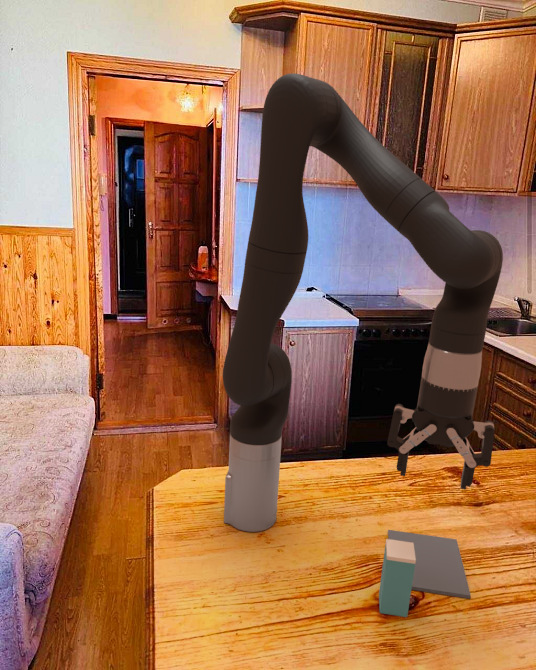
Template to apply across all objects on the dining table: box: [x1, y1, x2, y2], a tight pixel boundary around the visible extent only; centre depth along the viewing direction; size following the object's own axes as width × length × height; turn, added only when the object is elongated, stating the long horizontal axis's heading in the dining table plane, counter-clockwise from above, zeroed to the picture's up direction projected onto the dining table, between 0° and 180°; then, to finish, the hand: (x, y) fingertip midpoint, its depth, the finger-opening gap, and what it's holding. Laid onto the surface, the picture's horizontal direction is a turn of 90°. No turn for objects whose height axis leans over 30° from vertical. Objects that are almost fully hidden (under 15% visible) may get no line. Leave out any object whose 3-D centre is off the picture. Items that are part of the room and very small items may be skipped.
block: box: [378, 538, 416, 618], centre depth 84 cm, size 4×4×10 cm
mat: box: [387, 529, 471, 600], centre depth 95 cm, size 12×14×1 cm
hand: (432, 479), depth 83 cm, fingers open, 8 cm apart
